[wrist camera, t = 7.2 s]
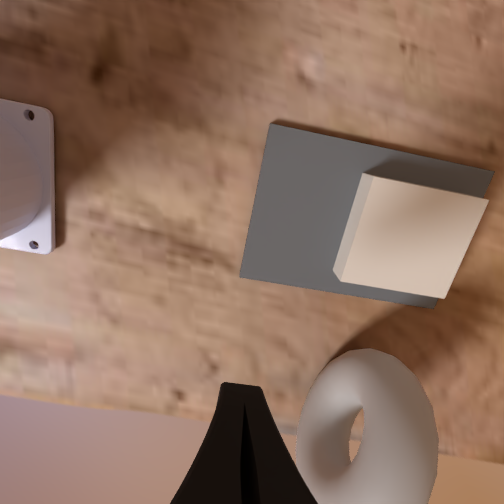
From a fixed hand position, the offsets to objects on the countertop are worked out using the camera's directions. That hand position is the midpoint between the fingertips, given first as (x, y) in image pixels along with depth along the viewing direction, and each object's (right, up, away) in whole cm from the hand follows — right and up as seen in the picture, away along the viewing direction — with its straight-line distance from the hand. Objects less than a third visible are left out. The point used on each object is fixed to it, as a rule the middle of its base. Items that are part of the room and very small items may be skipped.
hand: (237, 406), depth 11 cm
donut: (+6, -3, +12) cm, 14 cm away
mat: (+7, +7, +8) cm, 13 cm away
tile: (+6, +7, +7) cm, 11 cm away
